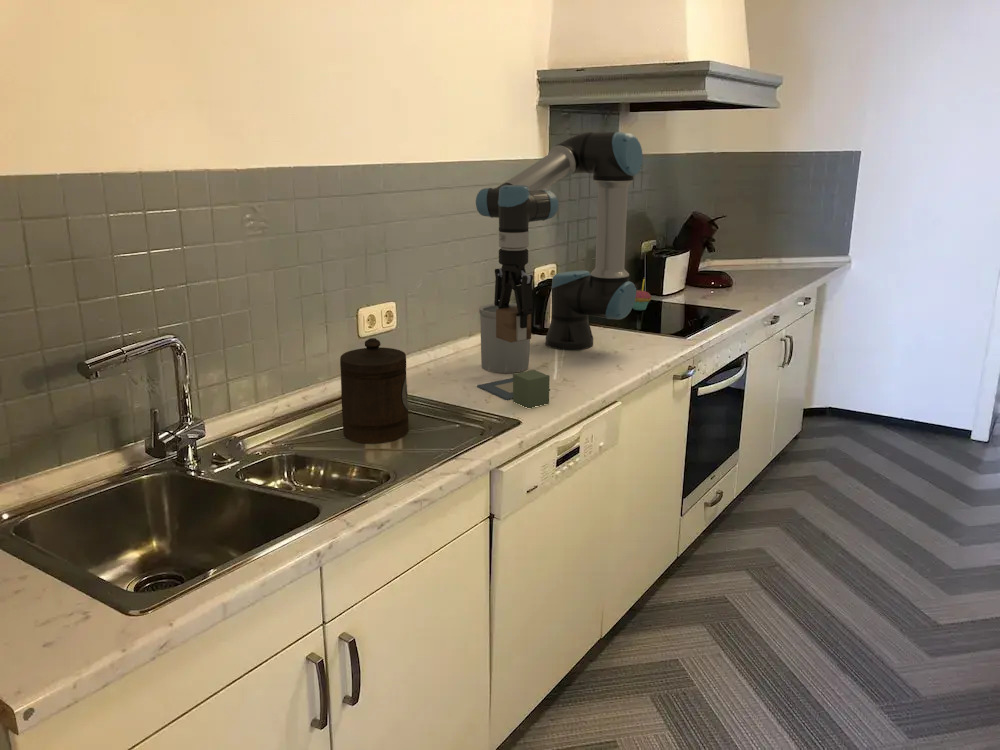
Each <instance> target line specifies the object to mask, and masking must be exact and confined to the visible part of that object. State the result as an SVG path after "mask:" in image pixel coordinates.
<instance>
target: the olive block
mask: <svg viewBox="0 0 1000 750" xmlns="http://www.w3.org/2000/svg"><path fill="white" fill-rule="evenodd" d="M512 378H513V399H512V402H513V403H514V402H515V403H514V404H516V403H517V405H518V404H520V405H522V406H521V407H523V406H524V407H523V408H525V407H527V408H531V409H533V408H532V407H535V406H539V407H541V406H540V405H543V406H545V405H544V404H548V405H549V404H550V391H549V389H550V382H551V381H550V380H551V379H550V375H548V374H546V373H543V372H541V371H539V370H536V369H530V370H524V371H521V372H515V373H512ZM520 405H519V406H520ZM527 408H526V409H527ZM535 408H536V407H535Z"/></svg>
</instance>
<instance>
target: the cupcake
mask: <svg viewBox="0 0 1000 750" xmlns="http://www.w3.org/2000/svg"><path fill="white" fill-rule="evenodd" d="M645 281H646V279H645V276H644V277H643V279H642V283H641V284H642V285H641V286H642V287H641V289H638V290H637V289H636V299H635V303H634V305H633V308H632V309H633V310H634V311H646V309H647V307H648V305H649V303H650V301H651V300H652V295H651V294H650V293H649V292H648V291H646V290H644V289H645Z"/></svg>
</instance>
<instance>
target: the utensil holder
mask: <svg viewBox="0 0 1000 750" xmlns="http://www.w3.org/2000/svg"><path fill="white" fill-rule="evenodd" d="M509 306H510V307H514V306H517V304H516V302H515V303H514V302H509ZM496 309H499V308H498V306H495V304H494V302H493V303H487V304H483V305H481V306H479V308H478V312H479V313H478V314H479V315H480V359H481V360H480V361H481V368H482V369H483V370H485V371H487V372H492V373H498V374H515V373H520V372H525V371H527V370H528V368H529V365H530V348H531V339H528V340H522V341H517V342H511V343H510V342H508V341H505V340H502V339H499V338H496Z"/></svg>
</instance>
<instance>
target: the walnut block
mask: <svg viewBox="0 0 1000 750" xmlns="http://www.w3.org/2000/svg"><path fill="white" fill-rule="evenodd" d="M522 311H523V309H522ZM516 314H518V309H517V306H514V307H508V308H501V309H496V338H499V339H502V340H505V341H508V342H510V343H511V342H517V340H516ZM528 339H530V340H531V339H532V314H528V316H527V329H526V339H525V340H528ZM520 341H522V340H520Z"/></svg>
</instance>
